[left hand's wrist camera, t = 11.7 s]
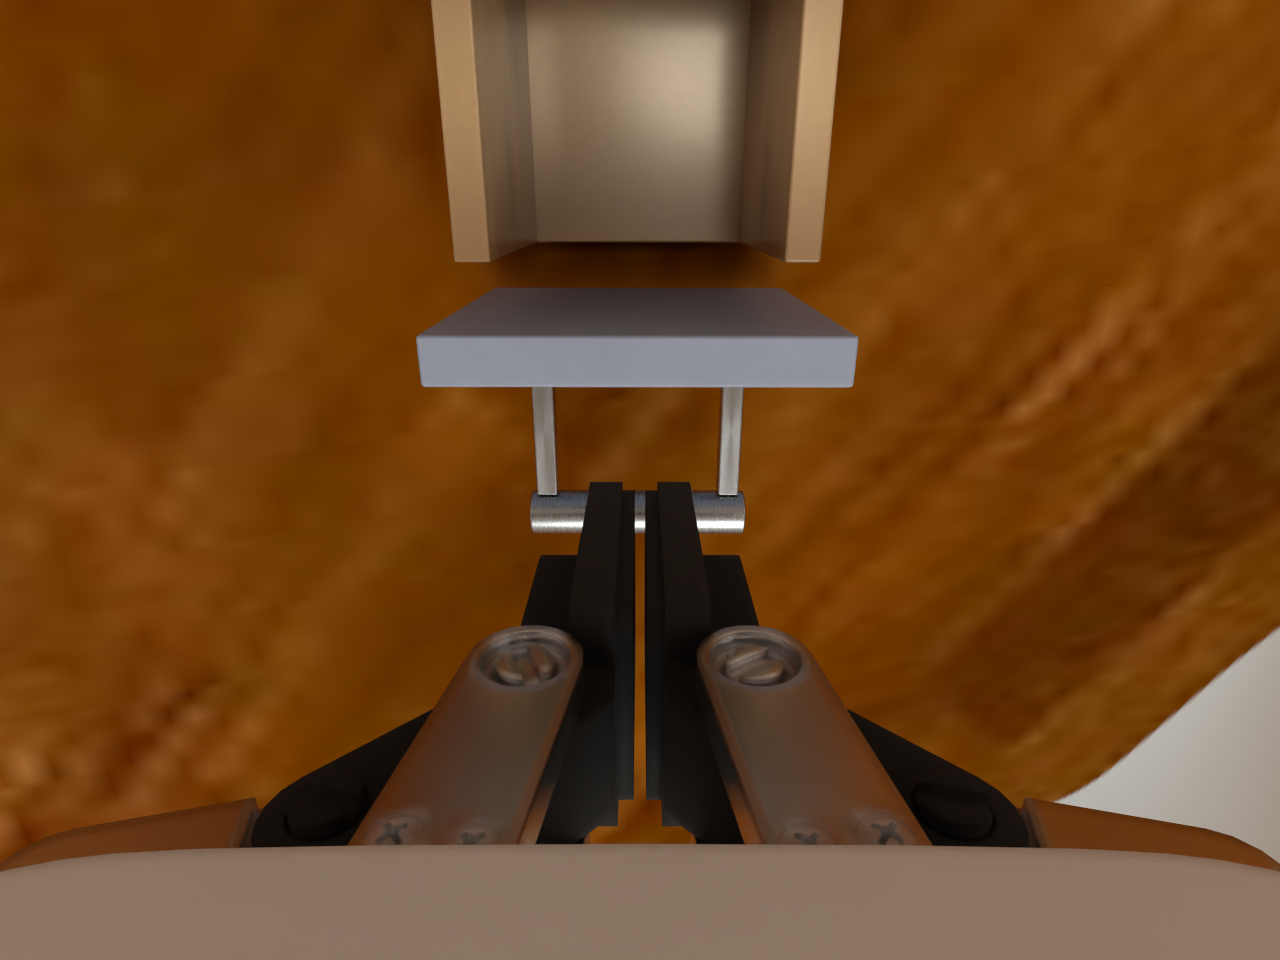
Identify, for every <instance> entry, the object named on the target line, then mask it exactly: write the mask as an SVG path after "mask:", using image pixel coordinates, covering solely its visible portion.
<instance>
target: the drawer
mask: <svg viewBox="0 0 1280 960" xmlns="http://www.w3.org/2000/svg"><path fill="white" fill-rule="evenodd" d="M843 1H844V0H431V8H432V19H433V30H434V42H435V53H436V64H437V75H438V86H439V97H440V108H441V119H442V130H443V141H444V153H445V164H446V175H447V186H448V197H449V208H450V219H451V230H452V241H453V252H454V260H455V262H490V261H492V260H495V259H497V258H500V257H502V256H504V255H507V254H509V253H512V252H514V251H516V250H519V249H521V248H524V247H526V246H528V245H531V244H533V243H536V242H688V243H743V244H745V245H748V246H750V247H752V248H755V249H757V250H759V251H762V252H764V253H766V254H769V255H771V256H773V257H775V258H778V259H780V260H782V261H785V262H787V263H817V262H819V261H820V257H821V246H822V235H823V224H824V213H825V201H826V190H827V179H828V168H829V157H830V146H831V135H832V124H833V112H834V101H835V90H836V79H837V68H838V57H839V46H840V35H841V23H842V12H843ZM416 342H417V351H418V360H419V369H420V378H421V384H422V386H425V387H531V388H532V406H533V424H534V442H535V460H536V478H537V490H534V491H533V492H532V495H531V501H530V524H531V530H532V532H533V533H581V532H582V526H583V521H584V515H585V509H586V504H587V498H588V492H589V490H559V487H560V486H559V463H558V440H557V417H556V393H555V387H720V407H719V430H718V453H717V476H716V489H717V490H691V492H692V498H693V504H694V509H695V515H696V521H697V526H698V532H699V534H741V533H743V531H744V527H745V498H744V494H743V491H741V490H738V485H739V467H740V449H741V431H742V414H743V396H744V387H852V386H853V383H854V374H855V365H856V356H857V347H858V336H856V335H854V334H853V333H851V332H850V331H848V330H846V329H845V328H843V327H842V326H840V325H839V324H837V323H835V322H834V321H832V320H831V319H829V318H828V317H826V316H824V315H823V314H821V313H820V312H818V311H816V310H815V309H813V308H812V307H810V306H809V305H807V304H805V303H804V302H802V301H801V300H799V299H798V298H796V297H794V296H793V295H791V294H790V293H788V292H786V291H785V290H783V289H781V288H494V289H493V290H491V291H489V292H488V293H486V294H484V295H483V296H481V297H480V298H478V299H476V300H475V301H473V302H471V303H470V304H468V305H467V306H465V307H463V308H462V309H460V310H458V311H457V312H455V313H453V314H452V315H450V316H449V317H447V318H445V319H444V320H442V321H440V322H439V323H437V324H436V325H434V326H432V327H431V328H429V329H427V330H426V331H424V332H422V333H421V334H419V335H418V336H417V337H416ZM635 533H645V490H635Z"/></svg>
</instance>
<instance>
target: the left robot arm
mask: <svg viewBox="0 0 1280 960" xmlns="http://www.w3.org/2000/svg"><path fill="white" fill-rule="evenodd" d="M634 719H635V490H623V485H622V482H590V486H589V492H588V498H587V504H586V509H585V515H584V521H583V526H582V532H581V538H580V543H579V549H578V555H541V557H540V559H539V563H538V566H537V570H536V573H535V577H534V581H533V584H532V588H531V591H530V595H529V598H528V602H527V606H526V609H525V613H524V616H523V620H522V623H521V626H519V627H513V628H507V629H505V630H502V631H499V632H496V633H494V634H491V635H489V636H488V637H486V638H485V639H483V640H481V641H480V642H478V643H477V644H476V646H475V647H474V648H473V649H472V650H471V651H470V652H469V654H468V655H467V657H466V658H465V660H464V661H463V663H462V665H461V666H460V668H459V669H458V671H457V673H456V674H455V676H454V677H453V679H452V680H451V682H450V684H449V685H448V687H447V688H446V690H445V692H444V693H443V695H442V696H441V698H440V699H439V701H438V703H437V704H436V706H435V707H434V709H432V710H430V711H428V712H426V713H424V714H422V715H420V716H419V717H417V718H415V719H413V720H411V721H409V722H407V723H405V724H403V725H401V726H399V727H398V728H396V729H394V730H392V731H390V732H388V733H386V734H384V735H382V736H380V737H378V738H376V739H375V740H373V741H371V742H369V743H367V744H365V745H363V746H361V747H359V748H357V749H355V750H353V751H352V752H350V753H348V754H346V755H344V756H342V757H340V758H338V759H336V760H334V761H332V762H331V763H329V764H327V765H325V766H323V767H321V768H319V769H317V770H315V771H313V772H311V773H309V774H308V775H306V776H304V777H302V778H300V779H299V780H297V781H295V782H294V783H292V784H291V785H289V786H288V787H286V788H285V789H283V790H282V791H280V792H279V793H278V794H277V795H276V796H275V797H274V798H273V799H272V800H271V801H270V802H269V803H268V804H267V805H266V806H265V807H264V808H261V809H258V806H257V802H256V798H250V799H244V800H238V801H232V802H226V803H220V804H215V805H209V806H203V807H197V808H191V809H186V810H180V811H174V812H168V813H162V814H157V815H151V816H145V817H139V818H133V819H128V820H122V821H116V822H110V823H104V824H98V825H93V826H87V827H81V828H75V829H71V830H68V831H64V832H61V833H57V834H54V835H51V836H47V837H45V838H43V839H41V840H39V841H37V842H35V843H33V844H31V845H29V846H27V847H25V848H23V849H21V850H19V851H17V852H16V853H14V854H13V855H12V856H10V857H9V858H8V859H6V860H5V861H3V862H2V863H1V864H0V960H1280V864H1279V863H1278V862H1277V861H1275V860H1274V859H1272V858H1271V857H1270V856H1268V855H1267V854H1266V853H1264V852H1263V851H1261V850H1259V849H1257V848H1255V847H1253V846H1251V845H1249V844H1247V843H1245V842H1243V841H1241V840H1239V839H1237V838H1235V837H1233V836H1229V835H1226V834H1222V833H1219V832H1215V831H1212V830H1209V829H1205V828H1199V827H1193V826H1187V825H1182V824H1176V823H1170V822H1164V821H1158V820H1152V819H1147V818H1141V817H1135V816H1129V815H1123V814H1118V813H1112V812H1106V811H1100V810H1094V809H1088V808H1083V807H1077V806H1071V805H1065V804H1060V803H1054V802H1048V801H1042V800H1036V799H1030V798H1024V802H1023V806H1022V809H1019V808H1016V807H1015V806H1014V805H1013V804H1012V803H1011V802H1010V801H1009V800H1008V799H1007V798H1006V797H1005V796H1004V795H1003V794H1002V793H1001V792H1000V791H998V790H997V789H995V788H994V787H992V786H991V785H989V784H988V783H986V782H985V781H983V780H981V779H980V778H978V777H976V776H974V775H972V774H971V773H969V772H967V771H965V770H963V769H961V768H959V767H957V766H955V765H953V764H951V763H949V762H948V761H946V760H944V759H942V758H940V757H938V756H936V755H934V754H932V753H930V752H928V751H927V750H925V749H923V748H921V747H919V746H917V745H915V744H913V743H911V742H909V741H907V740H905V739H904V738H902V737H900V736H898V735H896V734H894V733H892V732H890V731H888V730H886V729H884V728H882V727H881V726H879V725H877V724H875V723H873V722H871V721H869V720H867V719H865V718H863V717H861V716H860V715H858V714H856V713H854V712H852V711H850V710H848V709H846V707H845V706H844V704H843V703H842V701H841V699H840V698H839V696H838V695H837V693H836V692H835V690H834V688H833V687H832V685H831V684H830V682H829V680H828V679H827V677H826V676H825V674H824V673H823V671H822V669H821V668H820V666H819V665H818V663H817V661H816V660H815V658H814V657H813V655H812V654H811V652H810V651H809V650H808V649H807V648H806V647H805V646H804V644H803V643H802V642H800V641H799V640H797V639H795V638H794V637H792V636H791V635H789V634H786V633H784V632H781V631H778V630H775V629H773V628H767V627H761V626H759V623H758V620H757V616H756V613H755V609H754V606H753V602H752V598H751V595H750V591H749V588H748V584H747V581H746V577H745V573H744V570H743V566H742V563H741V559H740V557H739V555H702V549H701V543H700V538H699V532H698V526H697V521H696V515H695V509H694V504H693V498H692V492H691V486H690V482H658V485H657V490H645V719H646V800H662V826H683V827H684V828H685V829H687V830H688V831H689V832H690V844H590V832H591V831H592V830H593V829H595V828H596V827H597V826H618V800H634Z"/></svg>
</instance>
